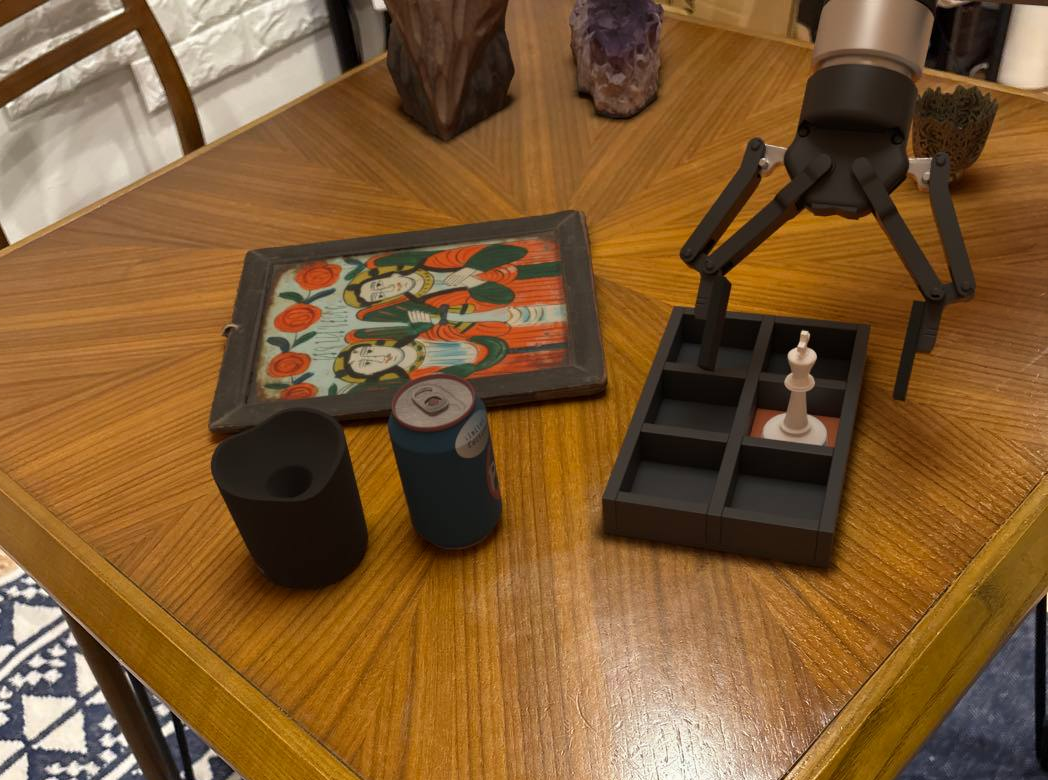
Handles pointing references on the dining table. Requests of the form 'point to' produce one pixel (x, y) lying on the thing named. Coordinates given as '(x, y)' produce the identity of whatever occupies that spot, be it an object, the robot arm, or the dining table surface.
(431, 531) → the soda can
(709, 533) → the grid
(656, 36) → the geode
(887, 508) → the dining table surface
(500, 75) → the owl
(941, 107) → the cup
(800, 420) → the chess piece
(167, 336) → the dining table surface
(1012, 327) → the dining table surface
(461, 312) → the painting
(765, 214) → the robot arm
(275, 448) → the pen holder
